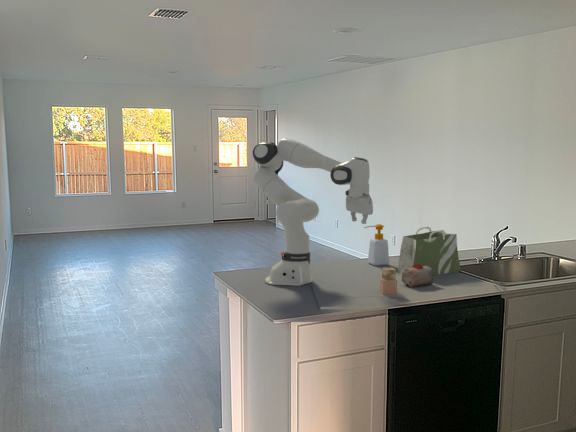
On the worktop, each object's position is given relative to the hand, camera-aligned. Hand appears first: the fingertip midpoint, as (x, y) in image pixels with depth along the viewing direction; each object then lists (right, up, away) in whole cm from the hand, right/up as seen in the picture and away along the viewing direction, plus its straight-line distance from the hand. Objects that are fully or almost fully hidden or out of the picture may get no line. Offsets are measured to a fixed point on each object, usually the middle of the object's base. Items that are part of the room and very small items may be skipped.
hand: (358, 222), depth 258 cm
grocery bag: (+40, -26, +30) cm, 57 cm away
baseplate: (+5, -31, -16) cm, 36 cm away
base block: (+11, -31, -16) cm, 37 cm away
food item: (+28, -30, +2) cm, 40 cm away
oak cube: (+11, -24, -17) cm, 31 cm away
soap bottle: (+15, -24, +48) cm, 56 cm away
